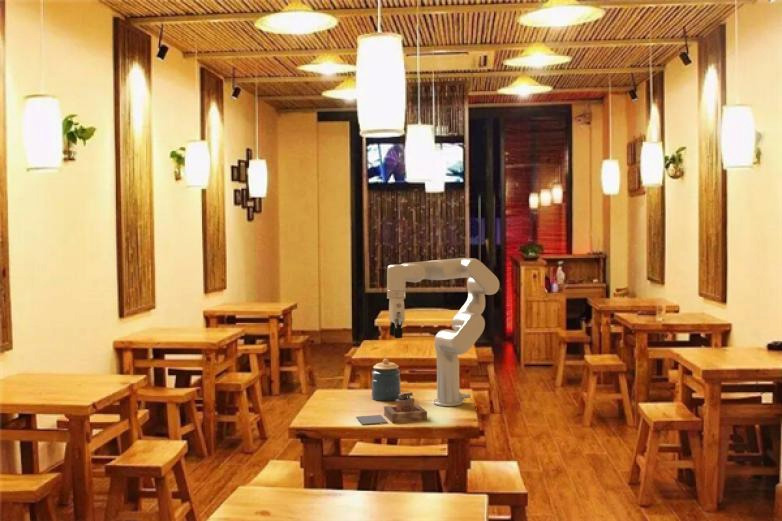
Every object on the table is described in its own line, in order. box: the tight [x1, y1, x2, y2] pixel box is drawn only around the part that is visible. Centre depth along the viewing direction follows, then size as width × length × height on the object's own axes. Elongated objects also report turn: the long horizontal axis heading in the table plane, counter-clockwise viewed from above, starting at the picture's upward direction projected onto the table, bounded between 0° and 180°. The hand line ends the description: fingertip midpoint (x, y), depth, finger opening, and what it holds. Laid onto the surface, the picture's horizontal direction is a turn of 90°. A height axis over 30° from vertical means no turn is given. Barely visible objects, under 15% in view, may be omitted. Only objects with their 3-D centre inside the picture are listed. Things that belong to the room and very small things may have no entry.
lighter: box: [395, 392, 415, 412], centre depth 332 cm, size 8×3×10 cm, turn 117°
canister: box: [371, 358, 402, 402], centre depth 368 cm, size 13×13×18 cm
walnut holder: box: [383, 403, 428, 424], centre depth 332 cm, size 14×14×4 cm
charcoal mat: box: [355, 414, 388, 426], centre depth 328 cm, size 10×12×1 cm
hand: (395, 336), depth 341 cm, fingers open, 9 cm apart
